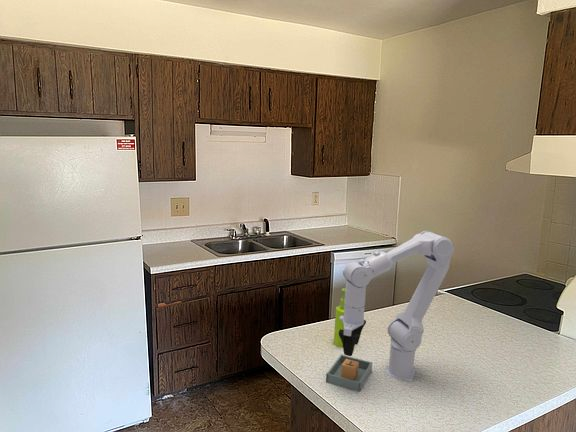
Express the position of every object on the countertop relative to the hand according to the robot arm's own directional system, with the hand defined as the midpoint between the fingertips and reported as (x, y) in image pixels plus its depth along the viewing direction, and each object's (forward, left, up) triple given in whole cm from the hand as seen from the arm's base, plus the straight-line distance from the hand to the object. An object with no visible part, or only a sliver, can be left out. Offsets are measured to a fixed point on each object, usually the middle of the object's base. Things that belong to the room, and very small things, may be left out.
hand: (351, 349), depth 125 cm
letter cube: (-1, 0, -9) cm, 9 cm away
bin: (-1, 0, -10) cm, 10 cm away
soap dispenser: (-20, -8, -10) cm, 24 cm away
